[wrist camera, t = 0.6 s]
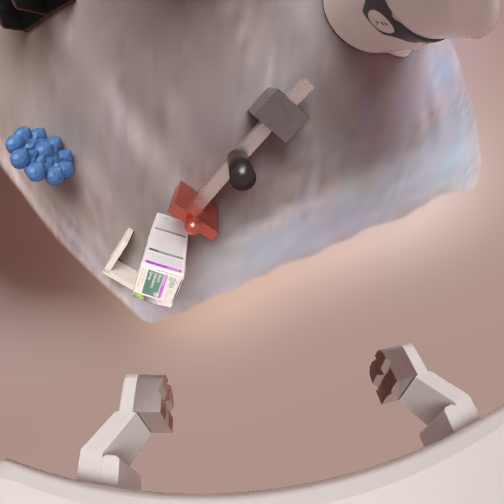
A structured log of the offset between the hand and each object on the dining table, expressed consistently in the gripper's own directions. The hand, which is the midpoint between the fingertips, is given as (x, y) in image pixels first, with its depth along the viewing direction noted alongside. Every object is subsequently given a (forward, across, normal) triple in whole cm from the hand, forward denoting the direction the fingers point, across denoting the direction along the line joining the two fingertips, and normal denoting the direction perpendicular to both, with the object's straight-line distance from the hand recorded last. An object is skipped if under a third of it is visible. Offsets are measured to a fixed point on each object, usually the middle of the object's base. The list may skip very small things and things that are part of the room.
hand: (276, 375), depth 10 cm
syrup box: (+37, +10, +14) cm, 41 cm away
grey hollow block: (+37, -6, -5) cm, 38 cm away
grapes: (+38, +28, -3) cm, 47 cm away
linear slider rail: (+37, -2, 0) cm, 37 cm away
